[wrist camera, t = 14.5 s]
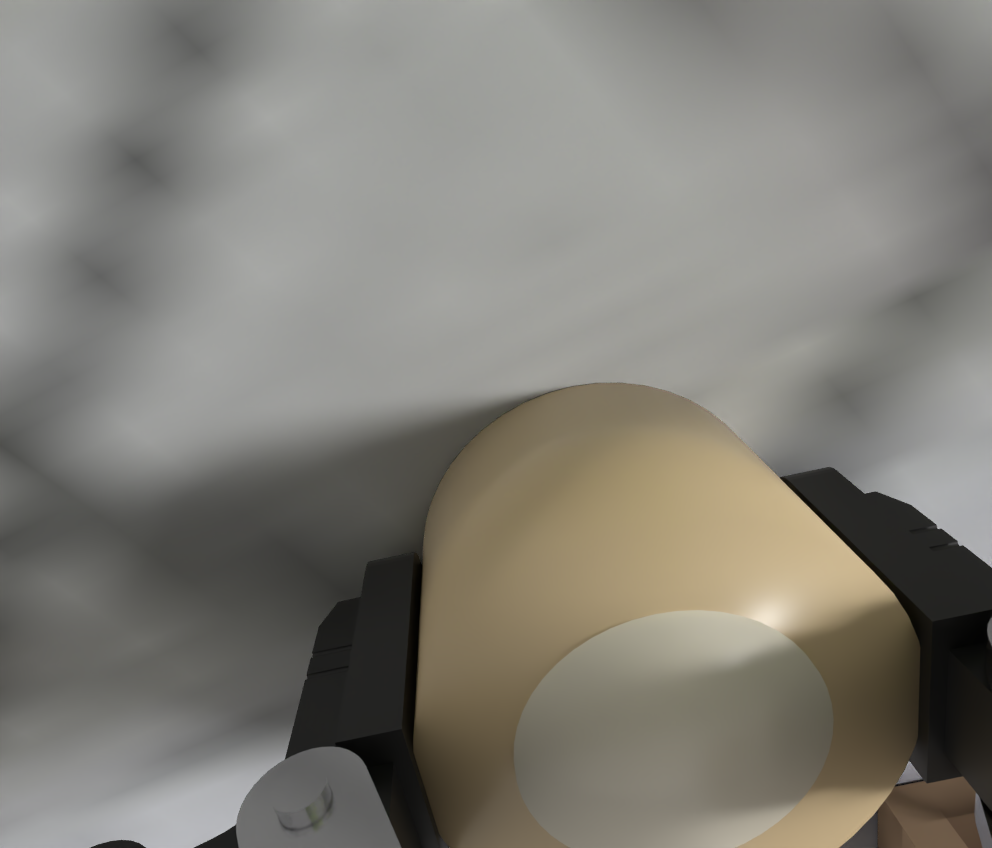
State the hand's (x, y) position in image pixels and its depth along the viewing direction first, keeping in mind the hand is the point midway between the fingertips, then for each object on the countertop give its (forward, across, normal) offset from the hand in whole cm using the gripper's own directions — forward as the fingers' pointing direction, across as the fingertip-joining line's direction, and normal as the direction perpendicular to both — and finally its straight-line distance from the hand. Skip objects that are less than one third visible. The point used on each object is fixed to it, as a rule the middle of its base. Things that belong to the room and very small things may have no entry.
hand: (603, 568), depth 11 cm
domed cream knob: (+1, 0, 0) cm, 1 cm away
